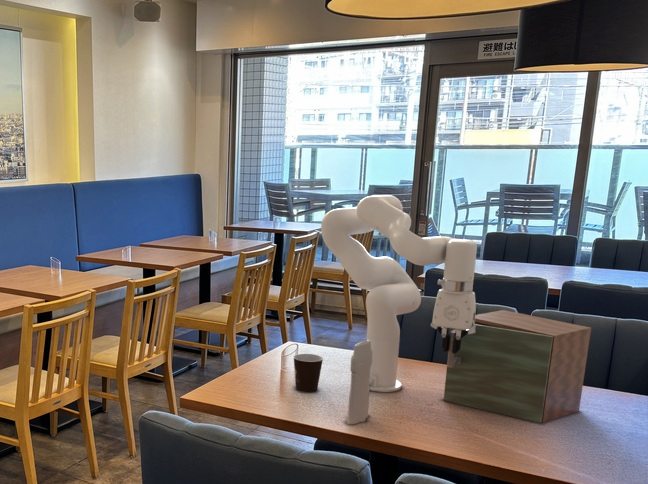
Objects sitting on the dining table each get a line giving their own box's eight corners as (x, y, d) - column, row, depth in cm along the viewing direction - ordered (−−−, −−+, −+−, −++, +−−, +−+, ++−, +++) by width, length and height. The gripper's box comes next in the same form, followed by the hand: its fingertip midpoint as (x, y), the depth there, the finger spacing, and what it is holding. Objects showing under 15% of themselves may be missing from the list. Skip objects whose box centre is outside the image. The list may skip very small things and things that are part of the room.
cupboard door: (532, 429, 187) (544, 341, 181) (434, 405, 204) (442, 324, 199) (541, 422, 192) (553, 336, 186) (444, 399, 209) (452, 320, 204)
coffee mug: (315, 395, 214) (317, 363, 211) (288, 390, 218) (289, 358, 216) (328, 384, 223) (329, 354, 221) (301, 380, 228) (303, 350, 225)
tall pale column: (354, 426, 190) (360, 346, 184) (340, 422, 192) (345, 343, 187) (374, 416, 197) (379, 338, 192) (360, 412, 200) (365, 335, 194)
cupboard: (542, 422, 192) (554, 335, 186) (458, 395, 214) (466, 316, 208) (579, 411, 200) (591, 327, 194) (494, 385, 222) (503, 309, 216)
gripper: (423, 284, 196) (417, 349, 201) (484, 291, 186) (476, 359, 191) (432, 280, 202) (426, 344, 206) (492, 287, 192) (484, 353, 196)
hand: (450, 351), depth 198 cm, fingers closed on cupboard door
